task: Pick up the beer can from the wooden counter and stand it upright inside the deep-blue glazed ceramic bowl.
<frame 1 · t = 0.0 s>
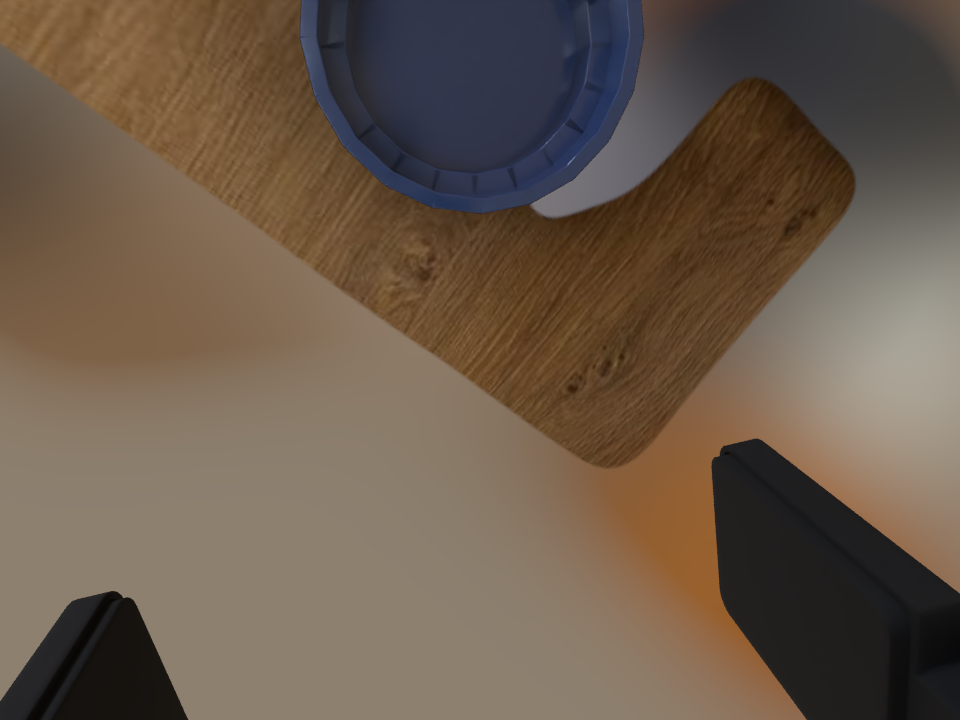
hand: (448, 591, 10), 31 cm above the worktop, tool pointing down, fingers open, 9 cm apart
bowl: (463, 54, 36), on the worktop
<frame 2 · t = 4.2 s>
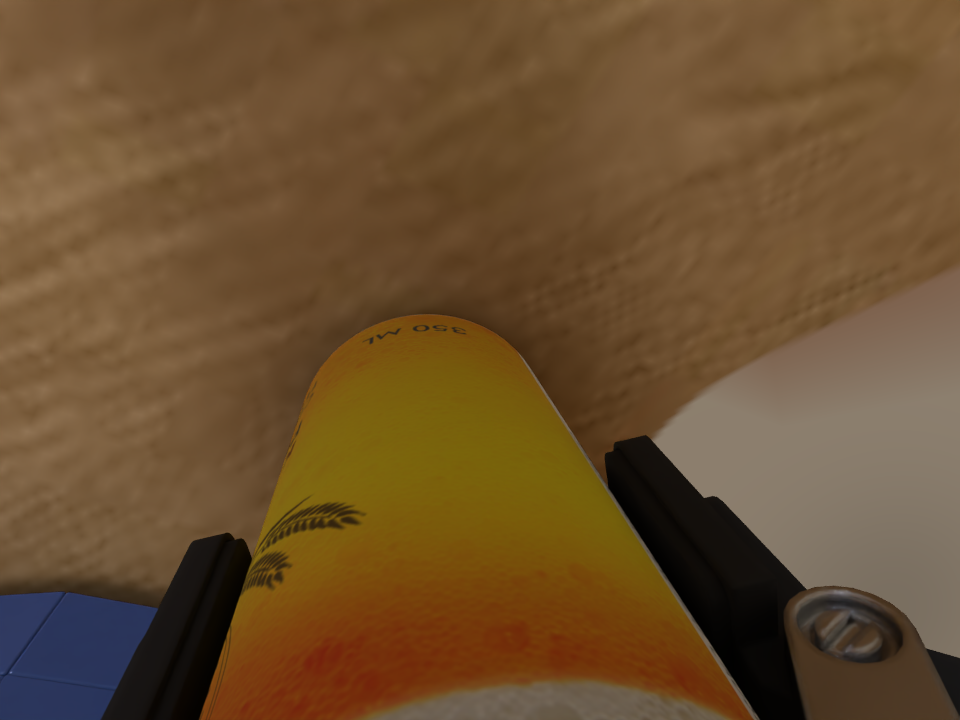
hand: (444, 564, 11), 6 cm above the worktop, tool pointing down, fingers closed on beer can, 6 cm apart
beer can: (423, 416, 17), on the worktop, touching gripper
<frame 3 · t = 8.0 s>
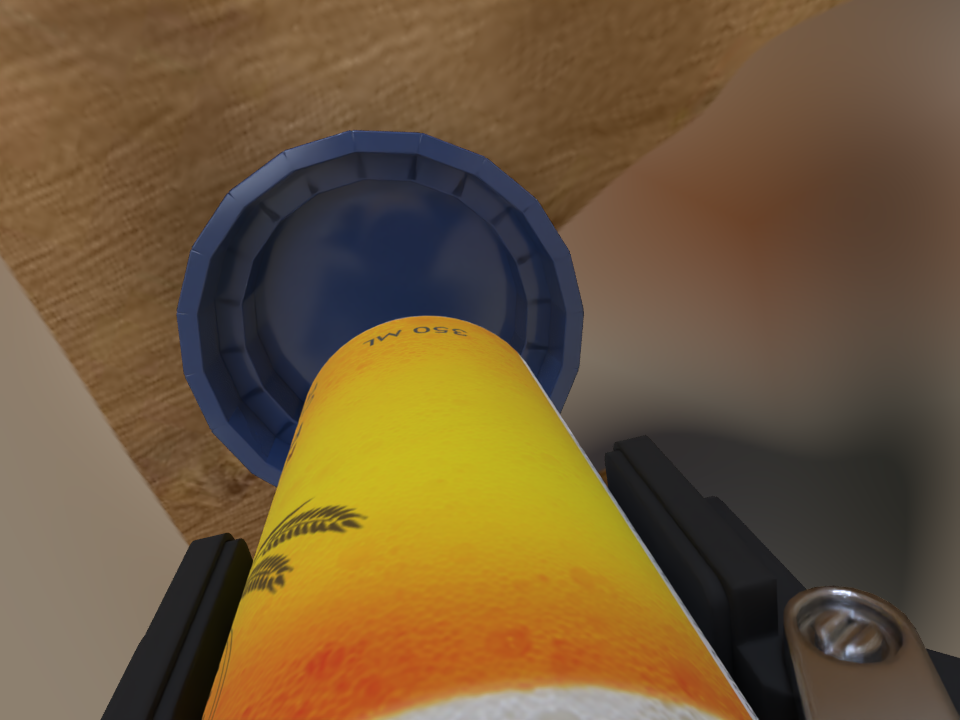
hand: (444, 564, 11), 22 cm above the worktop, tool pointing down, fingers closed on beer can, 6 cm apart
beer can: (424, 418, 17), point 16 cm above the worktop, touching gripper
bowl: (389, 308, 32), on the worktop
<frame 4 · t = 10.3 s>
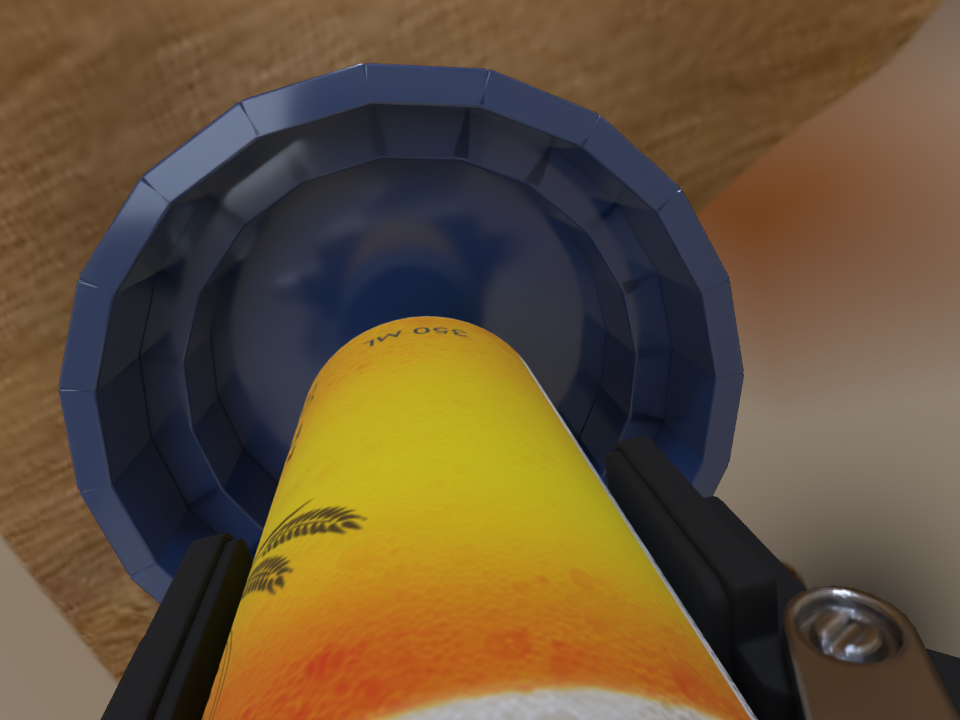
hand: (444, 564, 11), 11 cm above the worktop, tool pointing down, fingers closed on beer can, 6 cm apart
beer can: (424, 418, 17), point 5 cm above the worktop, touching gripper
bowl: (416, 355, 21), on the worktop
when the fingers open (7 cm above the worktop, at t = 12.0 s): beer can stays where it is, resting on bowl.
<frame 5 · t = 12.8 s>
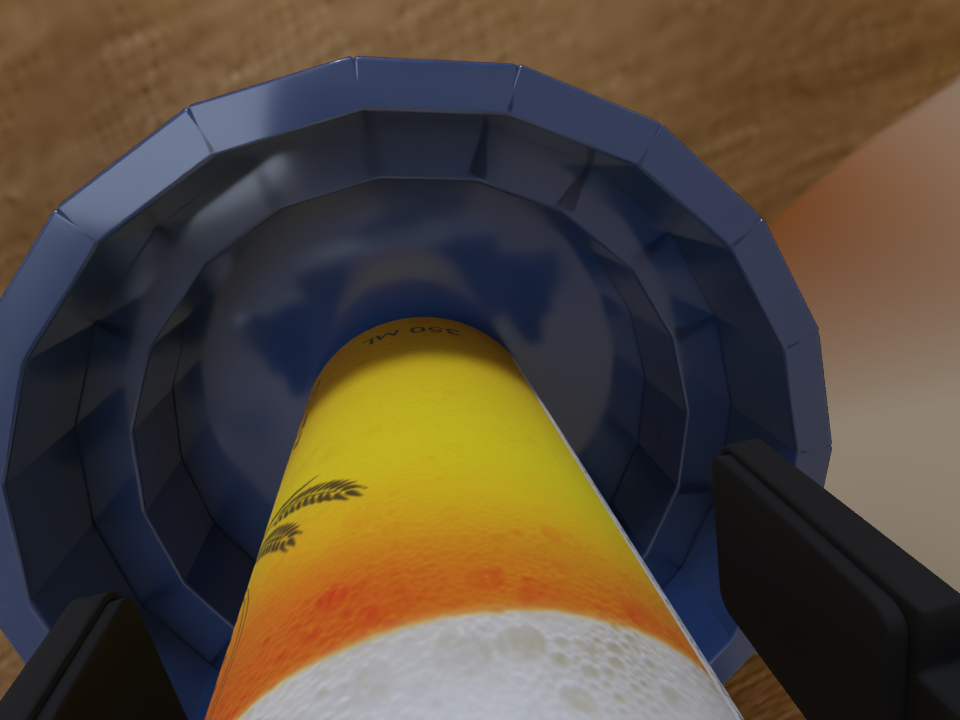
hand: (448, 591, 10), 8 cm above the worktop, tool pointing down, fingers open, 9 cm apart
beer can: (421, 414, 18), resting on bowl
bowl: (419, 408, 18), on the worktop
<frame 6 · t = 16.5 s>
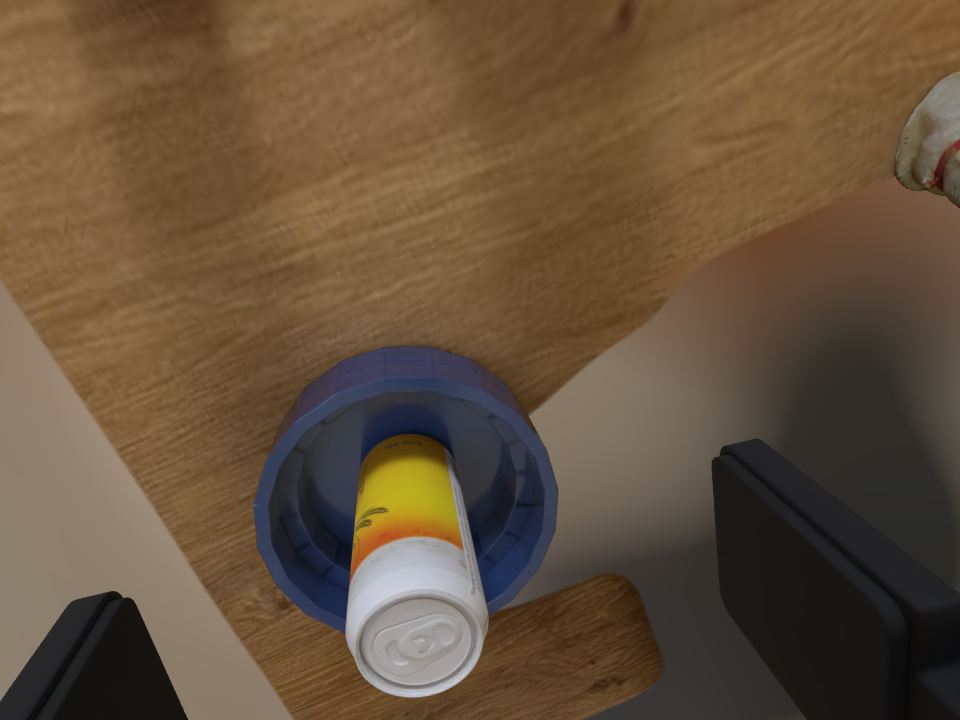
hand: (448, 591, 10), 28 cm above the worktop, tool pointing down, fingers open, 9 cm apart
beer can: (408, 470, 40), resting on bowl
bowl: (407, 467, 41), on the worktop
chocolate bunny: (932, 134, 39), on the worktop
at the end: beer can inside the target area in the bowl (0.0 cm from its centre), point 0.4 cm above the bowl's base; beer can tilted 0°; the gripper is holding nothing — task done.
